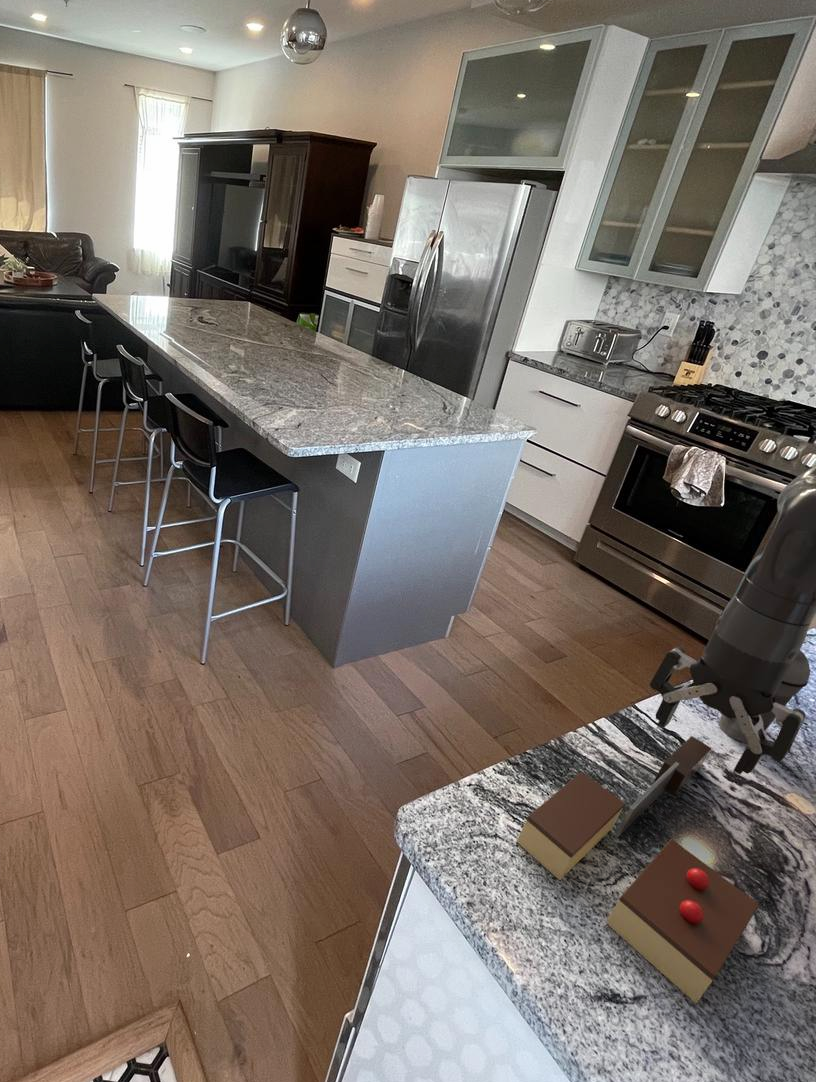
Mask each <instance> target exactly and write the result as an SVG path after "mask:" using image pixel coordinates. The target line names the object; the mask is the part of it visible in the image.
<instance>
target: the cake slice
mask: <svg viewBox="0 0 816 1082" xmlns="http://www.w3.org/2000/svg"><path fill="white" fill-rule="evenodd" d="M625 806H626V802H624V801H623V800H621V799H620V798H618V796H616V795H614V794H613V793H612V792H610V791H609V790H608V789H606V788H605V787H604V786H602V785H601V784H599V783H598V781H596V780H594V779H593V778H592V777H590V776H589V775H588V774H586V773H585V772H583V771H581V772H579V773H578V774H577V775H576V776H574V777H573V778H572V779H571V780H569V782H567V783H566V784H565V785H564V786H562V787H561V788H560V789H559V790H558V791H556V792H555V793H554V794H553V795H552V796H551V797H549V798H548V799H547V800H546V801H544V802H543V803H542V804H541V805H540V806H538V807H537V808H536V809H535V810H533V811H532V812H531V813H530V814H529V815H527V817H526V820H525V822H524V824H523V826H522V829H521V831H520V833H519V835H518V837H517V840H516V843H517V844H518V845H519V846H520V847H522V849H524V850H525V851H526V852H527V853H528V854H529V855H530V856H532V857H533V858H534V859H535V860H536V861H537V862H539V864H541V866H543V867H544V868H545V869H546V870H547V871H548V872H549V873H551V874H552V876H554V877H555V878H556V879H557V880H558V881H561V880H562V879H563V878H564V877H565V876H566V875H567V874H568V873H569V872H570V871H571V870H572V869H573V868H574V867H575V866H576V865H577V864H578V863H579V862H580V861H581V860H582V859H583V858H584V857H585V856H586V855H587V854H588V853H589V852H591V850H592V849H593V848H594V847H595V846H596V845H598V843H599V842H600V841H601V840H602V839H604V837H606V835H607V834H608V833H609V832H610V831H611V830H612V829H613V828H614V826H615V824H616V822H617V820H618V818H619V817H620V814H621V813H622V810H624V809H623V808H624V807H625Z"/></svg>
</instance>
